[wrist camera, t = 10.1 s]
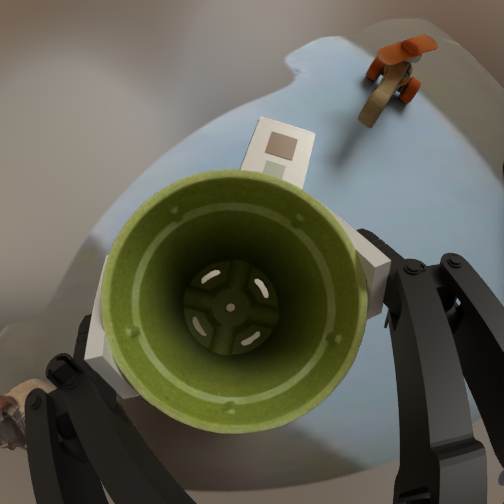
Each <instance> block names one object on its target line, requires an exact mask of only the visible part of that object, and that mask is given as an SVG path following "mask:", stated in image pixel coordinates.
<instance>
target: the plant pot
mask: <svg viewBox="0 0 504 504" xmlns="http://www.w3.org/2000/svg"><path fill="white" fill-rule="evenodd" d="M214 270H219V271H220V274H218V275H216V276H214V277H211V278H210V279H209V280H207V281H206V282H205V283H202V278H203V277H204V276H206V275H207V274H209V273H210V272H211V271H214ZM255 279H259V280H261V281H262V282H263V283H264V286H265V287H266V289H267V291H268V298H265V297H264V296H263V294H262V291H261V289H260V288H259V286H258V285H257V284H256V283H255ZM228 304H233V305H234V306H235V309H234V310H233V311H231V312H229V311H227V309H226V307H227V305H228ZM100 305H101V317H102V323H103V328H104V331H105V334H106V337H107V340H108V343H109V347H110V350H111V353H112V355H113V357H114V360H115V362H116V363H117V365H118V367H119V368H120V370H121V372H122V373H123V374H124V376H125V377H126V378H127V380H128V381H129V383H130V384H131V385H132V386H133V387H134V389H135V390H136V391H137V392H138V393H139V394H140V395H141V396H142V397H143V398H144V399H145V400H147V401H148V402H149V403H150V404H151V405H153V406H155V407H156V408H157V409H159V410H160V411H161V412H163V413H165V414H166V415H168V416H170V417H171V418H173V419H175V420H177V421H179V422H181V423H183V424H187V425H189V426H191V427H194V428H198V429H201V430H205V431H211V432H216V433H228V434H240V433H252V432H259V431H265V430H269V429H273V428H276V427H280V426H282V425H285V424H287V423H290V422H292V421H294V420H296V419H298V418H299V417H301V416H303V415H304V414H306V413H307V412H309V411H310V410H312V409H313V408H315V407H316V406H318V405H319V404H320V403H321V402H322V401H323V400H325V399H326V398H327V397H328V396H329V395H330V394H331V393H332V392H333V390H334V389H335V388H336V387H337V386H338V385H339V384H340V382H341V381H342V380H343V378H344V377H345V376H346V374H347V373H348V371H349V369H350V368H351V366H352V364H353V363H354V361H355V358H356V356H357V353H358V350H359V347H360V345H361V342H362V338H363V335H364V331H365V326H366V320H367V287H366V280H365V276H364V272H363V269H362V266H361V263H360V260H359V257H358V254H357V252H356V249H355V247H354V245H353V243H352V241H351V240H350V238H349V236H348V235H347V233H346V232H345V230H344V229H343V227H342V226H341V224H340V223H339V222H338V221H337V219H336V218H335V217H334V216H333V215H332V213H331V212H330V211H329V210H328V209H327V208H326V207H325V206H324V205H323V204H321V203H320V202H319V201H318V200H316V199H315V198H314V197H312V196H311V195H309V194H308V193H306V192H305V191H303V190H302V189H300V188H299V187H297V186H295V185H293V184H291V183H289V182H287V181H284V180H282V179H279V178H276V177H273V176H270V175H267V174H264V173H261V172H257V171H248V170H234V169H226V170H217V171H209V172H204V173H200V174H195V175H192V176H189V177H186V178H183V179H181V180H178V181H177V182H175V183H173V184H171V185H169V186H167V187H165V188H164V189H162V190H160V191H159V192H157V193H156V194H154V195H153V196H152V197H150V198H149V199H148V200H147V201H146V202H144V203H143V204H142V205H141V206H140V207H139V208H138V209H137V210H136V212H135V213H134V214H133V215H132V216H131V217H130V219H129V220H128V221H127V222H126V224H125V225H124V227H123V228H122V230H121V231H120V233H119V235H118V236H117V238H116V240H115V242H114V244H113V246H112V248H111V251H110V253H109V256H108V258H107V262H106V265H105V269H104V273H103V279H102V285H101V298H100ZM194 317H196V318H197V319H198V322H199V324H200V326H201V327H202V329H203V330H204V333H206V336H203V335H201V334H200V333H199V332H198V331H197V329H196V328H195V326H194V324H193V318H194ZM257 331H258V332H260V336H259V337H258V338H256V339H255V340H253V342H252V343H250V344H248V345H244V346H243V345H242V344H241V342H242V341H243V340H246V339H247V338H249V337H251V336H252V335H254V334H255V333H256V332H257Z"/></svg>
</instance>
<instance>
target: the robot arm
mask: <svg viewBox="0 0 504 504" xmlns="http://www.w3.org/2000/svg"><path fill="white" fill-rule="evenodd" d="M309 195H310V194H309ZM312 197H313V196H312ZM316 200H317V199H316ZM320 203H321V202H320ZM321 204H322V203H321ZM324 206H325V205H324ZM325 207H326V206H325ZM326 208H327V207H326ZM327 209H328V208H327ZM328 210H329V211H330V212H331V213H332V215H333V216H334V217H335V218H336V219H337V221H338V222H339V223H340V224H341V226H342V227H343V229H344V230H345V232H346V233H347V235H348V236H349V238H350V240H351V241H352V243H353V245H354V247H355V249H356V252H357V254H358V257H359V260H360V263H361V266H362V269H363V272H364V276H365V280H366V287H367V319H370V318H372V317H374V316H376V315H378V314H380V313H381V311H382V307H383V303H384V304H385V305H386V306H387V307H388V308H389V309H388V313H387V317H386V321H385V325H384V328H387V325H388V322H389V328H390V335H391V341H392V348H393V355H394V363H395V372H396V382H397V393H398V406H399V426H400V467H399V471H398V474H397V476H396V480H395V485H394V498H393V504H487V461H486V452H485V448H484V446H483V444H482V443H481V442H479V441H477V440H476V439H475V438H474V436H473V430H472V422H471V415H470V408H469V403H468V397H467V392H466V387H465V382H464V378H465V380H466V382H467V384H468V387H469V389H470V391H471V393H472V395H473V398H474V400H475V402H476V405H477V407H478V410H479V412H480V415H481V417H482V420H483V422H484V425H485V427H486V430H487V433H488V436H489V439H490V442H491V445H492V447H493V449H494V452H495V455H496V456H497V458H498V460H499V462H500V464H501V465H502V467H503V468H504V307H503V305H502V304H501V303H500V301H499V300H498V299H497V297H496V296H495V295H494V293H493V292H492V291H491V290H490V288H489V287H488V286H487V284H486V283H485V282H484V281H483V279H482V278H481V277H480V276H479V275H478V273H477V272H476V271H475V270H474V269H473V268H472V266H471V265H470V264H469V263H468V262H467V261H466V260H465V259H464V258H463V257H462V256H460V255H458V254H454V253H446V254H444V255H443V256H442V258H441V261H440V264H438V265H431V266H426V265H425V264H424V263H422V262H421V261H419V260H416V259H404V258H403V257H402V256H400V255H399V254H398V253H397V252H396V251H394V250H393V249H392V248H391V247H390V246H388V245H387V244H385V242H383V241H382V240H381V239H379V238H378V237H377V236H376V235H375V234H373V233H372V232H370V231H367V230H365V229H359V230H355V229H354V228H352V227H351V226H350V225H349V224H347V223H346V222H345V221H344V220H342V219H341V218H340V217H339V216H337V215H336V214H335V213H334V212H332V211H331V210H330V209H328ZM108 256H109V255H107V256H106V259H105V263H104V266H103V270H102V274H101V278H100V282H99V286H98V290H97V294H96V298H95V303H94V307H93V312H92V314H90V315H87V316H85V317H84V319H83V320H82V322H81V324H80V326H79V330H78V336H77V340H76V342H77V343H76V345H75V351H74V356H73V358H72V357H71V356H70V355H69V354H67V353H61V354H59V355H57V356H55V357H54V358H53V359H52V360H51V361H50V362H49V364H48V366H47V369H46V377H47V378H48V379H49V380H50V381H51V382H52V383H53V384H54V385H55V386H56V387H57V389H55V390H53V391H51V392H50V393H48V394H47V393H46V392H45V391H44V390H43V389H41V388H35V389H33V390H32V391H30V393H29V394H28V395H27V397H26V400H25V405H24V411H25V432H26V444H27V453H28V461H29V468H30V474H31V479H32V485H33V490H34V494H35V499H36V503H37V504H109V503H108V501H107V499H106V496H105V493H104V490H103V487H102V484H103V485H104V487H105V489H106V490H107V492H108V494H109V495H110V497H111V498H112V500H113V502H114V503H115V504H196V503H195V502H194V501H193V499H192V498H190V496H189V495H188V494H187V493H186V492H185V491H184V490H183V489H182V488H181V486H180V485H179V484H178V483H177V482H176V481H175V480H174V478H173V477H172V476H171V475H170V474H169V472H168V471H167V470H166V469H165V468H164V466H163V465H162V464H161V463H160V461H159V460H158V459H157V457H156V456H155V455H154V453H153V452H152V451H151V449H150V448H149V447H148V445H147V444H146V443H145V441H144V440H143V438H142V437H141V436H140V434H139V433H138V431H137V430H136V428H135V427H134V425H133V424H132V422H131V421H130V419H129V418H128V416H127V414H126V413H125V411H124V410H123V408H122V406H121V405H120V404H119V403H118V402H117V401H116V393H118V394H119V395H120V396H121V397H122V398H123V399H126V398H131V397H137V396H140V394H139V393H138V392H137V391H136V390H135V389H134V387H133V386H132V385H131V384H130V383H129V381H128V380H127V378H126V377H125V376H124V374H123V373H122V372H121V370H120V368H119V367H118V365H117V363H116V362H115V360H114V357H113V355H112V353H111V350H110V347H109V343H108V340H107V337H106V334H105V331H104V328H103V323H102V317H101V305H100V298H101V285H102V279H103V273H104V269H105V265H106V262H107V258H108ZM457 298H458V299H459V301H460V302H461V304H460V305H458V304H457V303H456V300H457ZM463 376H464V378H463ZM58 436H59V439H58ZM100 480H101V481H100ZM498 481H499V484H500V485H502V486H503V485H504V471H502V472H501V474H500V476H499V480H498ZM101 482H102V484H101ZM503 504H504V503H503Z"/></svg>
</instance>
